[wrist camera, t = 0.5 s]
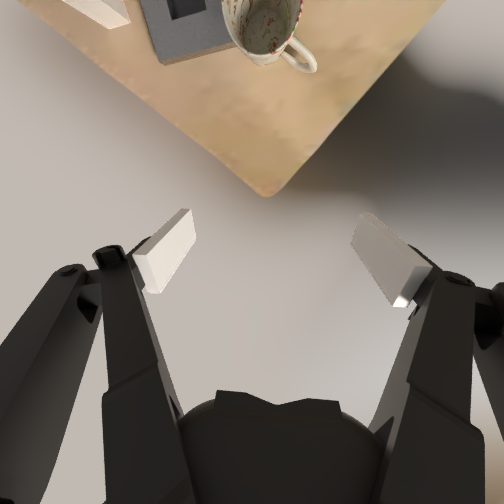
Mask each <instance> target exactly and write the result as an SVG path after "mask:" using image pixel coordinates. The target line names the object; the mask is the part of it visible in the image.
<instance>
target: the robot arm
mask: <svg viewBox="0 0 504 504" xmlns="http://www.w3.org/2000/svg"><path fill="white" fill-rule="evenodd" d="M195 241H196V234H195V229H194V224H193V218H192V213H191V209H181V210H180V211H179V212H178V213H177V214H175V215H174V216H173V217H172V218H171V219H170V220H169V221H168V222H167V223H166V224H165V225H164V226H162V227H161V228H160V229H159V230H158V231H157V232H156V233H155V234H154V235H153V236H150V237H148V238H146V239H144V240H142V241H141V242H140V243H139V244H138V245H137V246H136V247H135V248H134V249H132V250H131V251H130V252H129V253H128V254H127V255H125V253H124V250H123V248H122V247H121V246H119V245H110V246H106V247H103V248H100V249H98V250H96V251H95V252H94V253H93V254H92V257H93V259H94V260H95V262H96V264H97V266H98V268H99V269H97V270H90V271H87V270H86V268H85V267H84V266H83V265H82V264H73V265H67V266H65V267H62V268H60V269H59V270H57V271H55V272H54V273H53V274H52V276H51V277H50V278H49V280H48V281H47V282H46V284H45V285H44V286H43V288H42V289H41V291H40V292H39V293H38V295H37V296H36V297H35V299H34V300H33V301H32V303H31V304H30V306H29V307H28V308H27V310H26V311H25V312H24V314H23V315H22V316H21V318H20V319H19V321H18V322H17V323H16V325H15V326H14V327H13V329H12V330H11V332H10V333H9V334H8V336H7V337H6V339H5V340H4V341H3V342H2V344H1V345H0V504H40V502H41V499H42V497H43V495H44V492H45V490H46V488H47V485H48V483H49V480H50V477H51V474H52V471H53V468H54V466H55V463H56V460H57V457H58V453H59V450H60V447H61V443H62V441H63V437H64V434H65V431H66V428H67V424H68V421H69V418H70V414H71V412H72V408H73V405H74V402H75V399H76V396H77V392H78V389H79V386H80V382H81V379H82V376H83V373H84V370H85V366H86V363H87V360H88V357H89V353H90V350H91V347H92V344H93V341H94V338H95V334H96V331H97V328H98V325H99V321H100V318H101V315H102V312H103V321H104V335H105V347H106V359H107V370H108V384H109V389H108V391H107V392H106V393H104V394H103V396H102V424H103V443H104V462H105V463H104V464H105V484H106V501H105V502H104V503H103V504H485V443H484V437H483V434H482V432H481V431H480V429H478V428H477V427H475V426H474V425H472V424H471V423H470V408H471V385H472V363H473V362H472V361H473V356H474V359H475V361H476V364H477V367H478V370H479V373H480V376H481V379H482V381H483V384H484V387H485V390H486V393H487V395H488V398H489V401H490V404H491V407H492V409H493V413H494V415H495V418H496V421H497V424H498V427H499V429H500V432H501V435H502V438H503V441H504V282H501V283H498V284H496V285H495V287H494V288H493V289H492V290H490V289H486V288H481V287H476V286H475V283H474V282H472V281H471V280H470V279H468V278H467V277H465V276H463V275H460V274H458V273H454V272H450V271H443V270H442V269H440V268H439V267H438V266H437V265H436V264H435V263H433V262H432V261H431V260H430V259H428V258H427V257H426V256H425V255H423V254H422V253H421V252H420V251H419V250H418V249H416V248H414V247H412V246H411V245H409V244H406V243H405V242H404V241H403V240H401V239H400V238H399V237H398V236H397V235H396V234H395V233H393V232H392V231H391V230H390V229H389V228H388V227H386V226H385V225H384V224H383V223H382V222H381V221H380V220H378V219H377V218H376V217H375V216H374V215H373V214H372V213H360V216H359V219H358V222H357V225H356V228H355V231H354V235H353V238H352V241H351V246H352V247H353V249H354V250H355V252H356V253H357V255H358V256H359V258H360V259H361V261H362V262H363V263H364V265H365V266H366V268H367V269H368V271H369V272H370V274H371V275H372V277H373V278H374V280H375V281H376V283H377V284H378V286H379V287H380V289H381V290H382V292H383V293H384V295H385V296H386V298H387V299H388V301H389V302H390V303H391V305H392V307H393V306H394V307H408V305H409V304H410V302H411V301H412V299H413V300H414V301H415V302H416V304H417V306H416V307H415V309H414V310H413V312H412V313H411V315H410V316H409V318H408V320H410V322H409V325H408V327H407V330H406V333H405V335H404V338H403V340H402V343H401V346H400V349H399V351H398V354H397V357H396V359H395V362H394V365H393V367H392V370H391V373H390V375H389V378H388V381H387V384H386V386H385V389H384V392H383V394H382V397H381V400H380V402H379V405H378V408H377V410H376V413H375V415H374V418H373V420H372V421H371V423H370V425H369V427H368V428H367V427H366V426H364V425H363V424H362V423H361V422H359V421H358V420H356V419H355V418H353V417H352V416H350V415H348V414H346V413H344V412H341V409H340V405H339V401H332V400H322V399H311V398H307V399H302V400H298V401H293V402H289V403H285V404H281V405H275V404H272V403H270V402H267V401H265V400H262V399H260V398H258V397H255V396H253V395H250V394H248V393H244V392H233V391H223V390H217V392H216V397H215V399H213V400H209V401H207V402H204V403H202V404H200V405H198V406H196V407H195V408H193V409H192V410H190V411H189V412H188V413H187V414H185V415H184V414H183V411H182V409H181V406H180V403H179V401H178V398H177V396H176V393H175V390H174V386H173V384H172V380H171V378H170V374H169V372H168V369H167V365H166V362H165V359H164V356H163V353H162V350H161V347H160V345H159V342H158V338H157V335H156V332H155V329H154V326H153V323H152V320H151V317H150V314H149V312H148V308H147V306H146V302H145V299H144V296H143V293H142V291H141V290H142V289H143V288H144V286H146V289H147V291H148V293H158V294H160V293H161V292H162V291H163V289H164V287H165V286H166V285H167V283H168V282H169V280H170V278H171V277H172V275H173V274H174V272H175V271H176V269H177V268H178V266H179V265H180V263H181V262H182V260H183V259H184V257H185V256H186V254H187V253H188V251H189V250H190V248H191V247H192V245H193V244H194V242H195Z"/></svg>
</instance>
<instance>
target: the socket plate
mask: <svg viewBox="0 0 504 504" xmlns="http://www.w3.org/2000/svg"><path fill="white" fill-rule="evenodd" d="M140 1H141V5H142V8H143V11H144V15H145V18H146V21H147V24H148V28H149V31H150V34H151V38H152V41H153V44H154V47H155V51H156V54H157V57H158V61H159V62H160V63H162V64H163V65H169V64H173V63H176V62H180V61H184V60H188V59H191V58H195V57H199V56H203V55H207V54H210V53H214V52H218V51H222V50H225V49H229V48H233V47H237V46H236V44H235V43H234V42H233V40H232V38H231V36H230V34H229V32H228V30H227V27H226V25H225V21H224V17H223V12H222V3H221V0H140Z"/></svg>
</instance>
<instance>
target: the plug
mask: <svg viewBox="0 0 504 504" xmlns="http://www.w3.org/2000/svg"><path fill="white" fill-rule="evenodd" d="M62 1H64V2H65V3H67V4H69V5H70V6H72V7H73V8H75V9H77V10H78V11H80V12H82V13H83V14H85V15H86V16H88V17H90V18H91V19H93V20H95V21H96V22H98V23H99V24H101V25H103V26H104V27H106V28H108V29H109V30H110V29H113V28H116V27H119V26H123V25H126V24H129V23H131V22H130V19H129V16H128V13H127V10H126V7H125V4H124V1H123V0H62Z"/></svg>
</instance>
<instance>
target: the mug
mask: <svg viewBox="0 0 504 504" xmlns="http://www.w3.org/2000/svg"><path fill="white" fill-rule="evenodd" d="M221 3H222V12H223V17H224V21H225V25H226V27H227V30H228V32H229V34H230V36H231V38H232V40H233V42H234V43H235V44H236V46H237V47H238V48H239V49H240V50H241V51H242V52H243V53H244V54H245V55H246V56H247V57H248V58H249V59H250V60H251V61H252V62H253V63H255V64H256V65H259V66H268V65H271V64H273V63H274V62H275V61H276V60H277V59H278V58H279V57H280V55H282V56H283V57H284V58H285V59H286V60H287V61H288V62H289V63H290V64H291V65H292V66H293V67H294V68H296V69H298V70H300V71H304V72H307V73H314V72H315V71H316V70H317V62H316V60H315V58H314V56H313V55H312V53H311V52H310V51H309V49H308V48H307V47H305V46H304V45H303V44H302V43H301V42H300V41H299V40H297V39H296V38H295V37H294V36H293V34H294V32H295V30H296V27H297V25H298V22H299V19H300V16H301V12H302V7H303V0H221ZM287 44H289V45H290V46H291V47H293V48H294V49H295V50H296V51H298V52H299V53H300V54H301V55H302V56H303V57H304V58H305V60H306V61H307V63H308V64H305V63H302V62H300V61H298V60H297V59H295V58H294V57H292V56H291V55H289V54H288V53H286V52H285V51H283V50H284V49H285V47H286V45H287Z"/></svg>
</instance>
